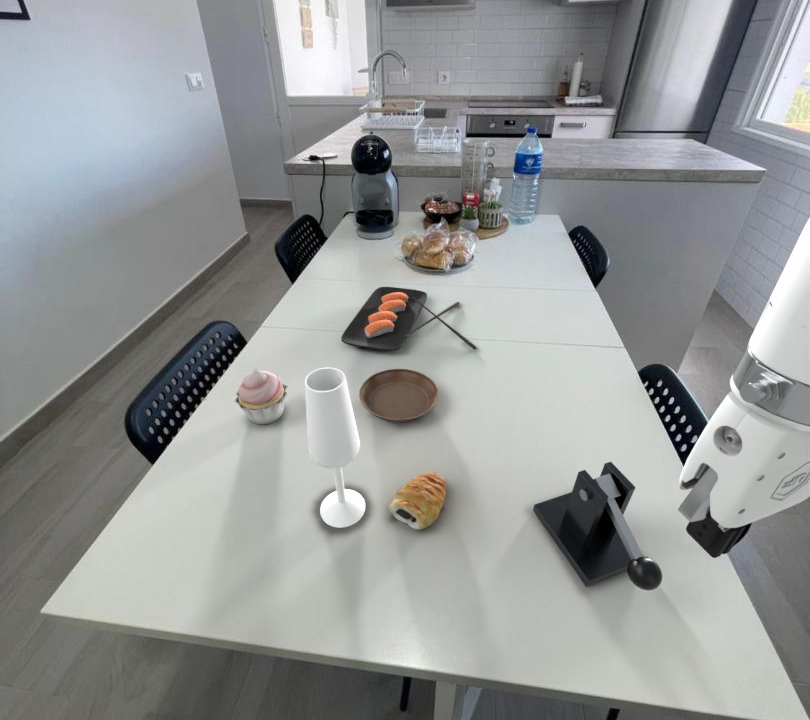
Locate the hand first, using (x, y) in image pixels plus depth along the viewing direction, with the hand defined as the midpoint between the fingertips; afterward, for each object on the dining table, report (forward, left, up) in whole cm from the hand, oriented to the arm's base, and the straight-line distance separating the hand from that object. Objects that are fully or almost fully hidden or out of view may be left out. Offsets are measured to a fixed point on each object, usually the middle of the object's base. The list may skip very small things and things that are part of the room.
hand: (705, 541), depth 41 cm
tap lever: (+9, -3, -12) cm, 15 cm away
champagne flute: (+32, +25, -18) cm, 45 cm away
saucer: (+49, +7, -18) cm, 53 cm away
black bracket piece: (+12, -3, -18) cm, 22 cm away
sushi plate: (+72, -10, -18) cm, 75 cm away
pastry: (+27, +15, -18) cm, 36 cm away
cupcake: (+58, +30, -18) cm, 68 cm away
